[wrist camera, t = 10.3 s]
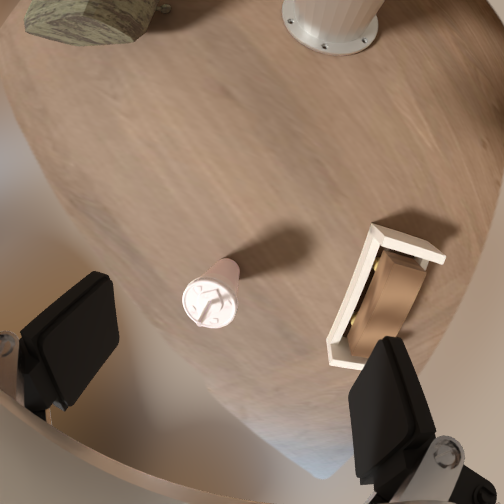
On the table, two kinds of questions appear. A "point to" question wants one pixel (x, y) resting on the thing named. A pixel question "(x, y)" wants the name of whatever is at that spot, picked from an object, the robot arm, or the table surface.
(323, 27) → the robot arm
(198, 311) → the smoothie
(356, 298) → the frame
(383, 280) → the plank
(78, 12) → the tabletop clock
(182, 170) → the table surface
